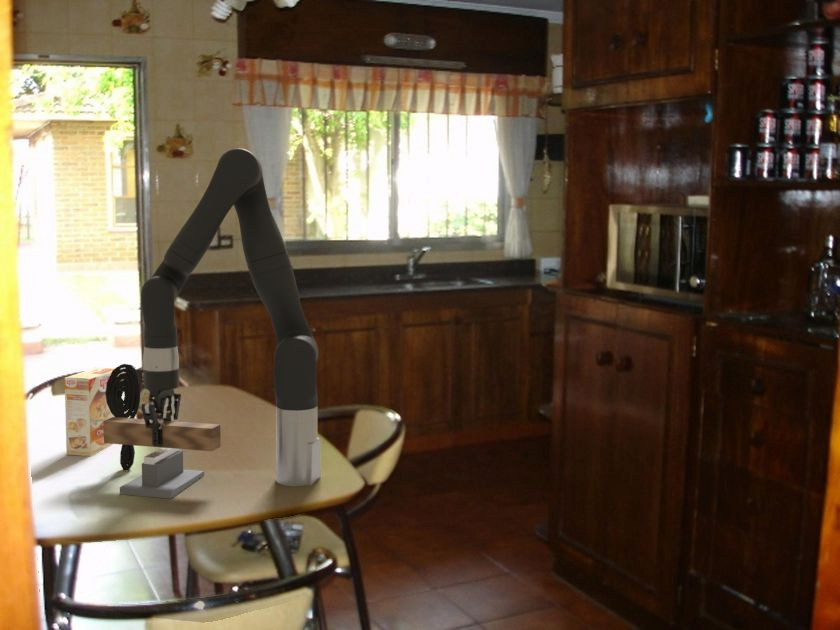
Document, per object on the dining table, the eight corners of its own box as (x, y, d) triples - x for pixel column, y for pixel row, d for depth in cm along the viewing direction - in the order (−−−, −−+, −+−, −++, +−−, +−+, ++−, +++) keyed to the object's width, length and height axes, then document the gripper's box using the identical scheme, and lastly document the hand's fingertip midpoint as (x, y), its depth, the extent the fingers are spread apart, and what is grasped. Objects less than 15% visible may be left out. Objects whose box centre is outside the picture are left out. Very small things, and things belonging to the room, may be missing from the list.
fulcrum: (204, 477, 214) (203, 443, 213) (170, 498, 199) (170, 461, 198) (156, 473, 217) (155, 439, 216) (119, 493, 201) (118, 457, 201)
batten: (220, 446, 206) (220, 424, 205) (212, 451, 202) (212, 428, 201) (113, 438, 212) (113, 417, 211) (104, 443, 208) (103, 421, 207)
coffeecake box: (91, 456, 230) (89, 378, 228) (65, 455, 231) (62, 377, 229) (121, 441, 245) (119, 368, 242) (96, 440, 246) (94, 367, 244)
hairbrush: (147, 468, 221) (145, 363, 218) (140, 472, 217) (138, 366, 214) (114, 466, 222) (111, 362, 219) (107, 470, 218) (104, 365, 215)
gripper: (161, 373, 197) (162, 453, 199) (191, 362, 211) (192, 437, 213) (128, 371, 199) (130, 450, 201) (161, 360, 212) (162, 434, 214)
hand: (162, 443), depth 207 cm, fingers closed on batten, 3 cm apart
